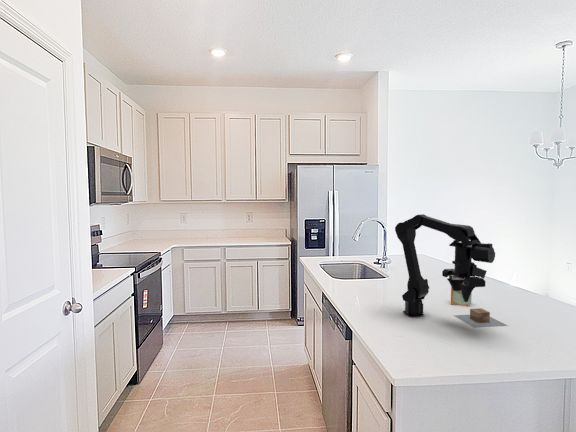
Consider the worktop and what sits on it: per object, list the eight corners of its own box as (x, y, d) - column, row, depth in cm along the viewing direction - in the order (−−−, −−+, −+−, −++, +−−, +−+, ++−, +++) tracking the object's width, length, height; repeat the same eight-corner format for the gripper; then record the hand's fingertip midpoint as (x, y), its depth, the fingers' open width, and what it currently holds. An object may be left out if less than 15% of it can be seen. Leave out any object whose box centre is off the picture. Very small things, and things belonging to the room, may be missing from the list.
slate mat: (474, 328, 140) (474, 327, 140) (453, 316, 154) (453, 315, 154) (508, 326, 142) (508, 325, 142) (484, 314, 156) (484, 313, 156)
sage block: (460, 304, 137) (460, 294, 137) (453, 301, 142) (453, 290, 141) (471, 304, 138) (471, 293, 138) (464, 300, 142) (464, 290, 142)
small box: (450, 304, 170) (451, 276, 169) (452, 301, 175) (452, 274, 174) (470, 307, 166) (470, 278, 165) (471, 303, 171) (471, 275, 170)
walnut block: (477, 322, 145) (478, 312, 145) (469, 318, 150) (470, 308, 150) (489, 322, 146) (489, 312, 145) (481, 317, 150) (481, 308, 150)
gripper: (500, 263, 131) (498, 306, 132) (467, 254, 149) (466, 292, 150) (470, 264, 129) (469, 307, 130) (441, 255, 148) (441, 293, 149)
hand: (462, 299), depth 140 cm, fingers closed on sage block, 4 cm apart
